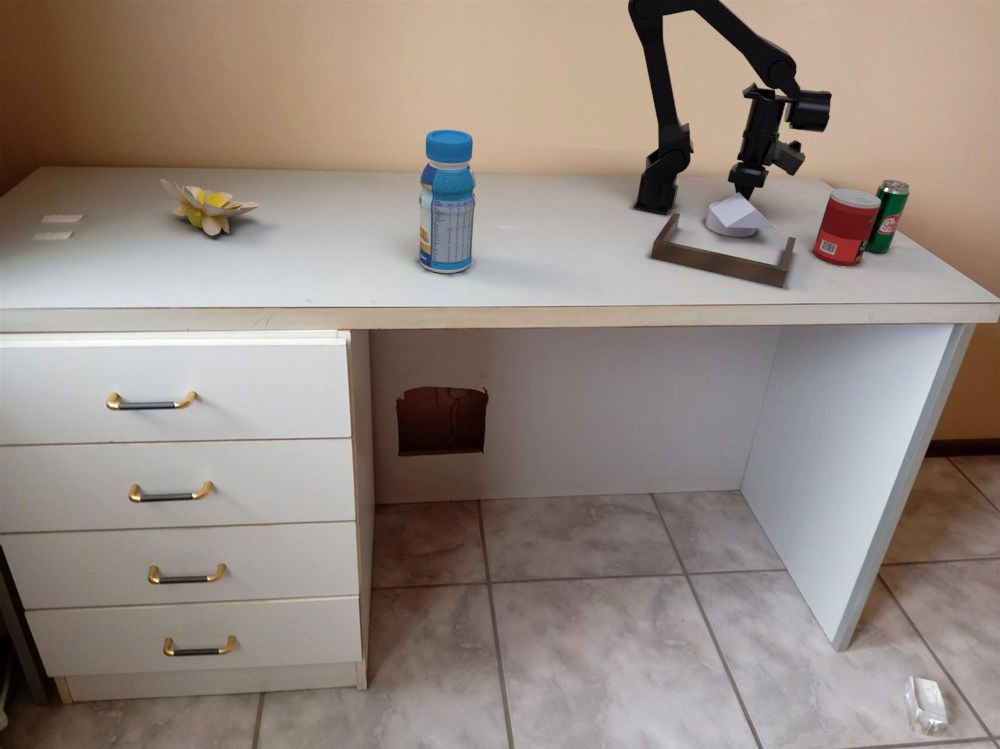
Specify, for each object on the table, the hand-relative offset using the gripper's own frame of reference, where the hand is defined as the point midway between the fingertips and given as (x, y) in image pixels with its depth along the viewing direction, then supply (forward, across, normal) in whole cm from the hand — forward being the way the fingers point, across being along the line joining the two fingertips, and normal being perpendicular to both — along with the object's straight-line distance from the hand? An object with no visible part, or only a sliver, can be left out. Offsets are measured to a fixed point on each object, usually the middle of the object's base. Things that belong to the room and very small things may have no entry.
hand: (741, 208), depth 147 cm
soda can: (+2, -2, -24) cm, 24 cm away
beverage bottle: (+2, -47, +39) cm, 62 cm away
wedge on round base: (+2, -8, 0) cm, 8 cm away
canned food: (+2, -10, -18) cm, 21 cm away
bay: (+2, -20, 0) cm, 20 cm away
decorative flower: (+2, -54, +78) cm, 95 cm away
